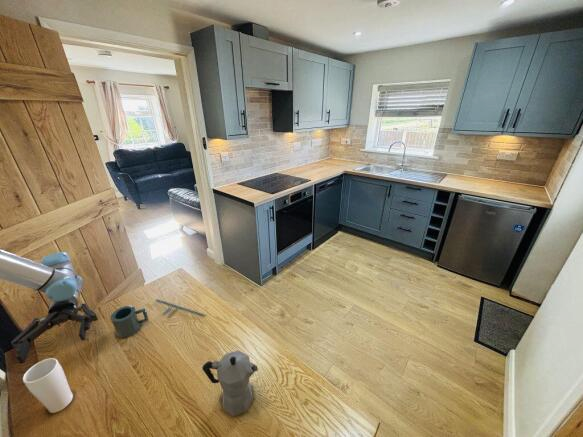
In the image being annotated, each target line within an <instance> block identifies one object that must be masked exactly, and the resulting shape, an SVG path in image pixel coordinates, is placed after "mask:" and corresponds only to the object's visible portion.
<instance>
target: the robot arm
mask: <svg viewBox="0 0 583 437" xmlns="http://www.w3.org/2000/svg"><path fill="white" fill-rule="evenodd" d="M74 268H75V267H74V266H73V263H72V261H71V258H70V256H69V254H68V252H67V253H66V252H65V251H64V252H63V251H57V252H53V253H50V254H47V255H45V256H44V257H43V258H41V260H40V263H39V262H37V261H35V260H34V261H33V260H31V259H28V258H25V257H23V256H20V255H18V254H14V253H11V252H8V251H6V250H2V249H0V281H3V282H5V283H9V284H13V285H17V286H21V287H24V288H27V289H31V290H34V291H37V292H41V293H43V294H45V296H46V297H47V299H48V300H50V301H51V302H50V305H49V308H48V311H47V315H46V316H44V317H43V318H39V317H35V318H33V320H32V321H31V323H30V324H29V325H27V327H26V328H25V329H24V330H22V331H21V332H20V333H19V334H18V335H17V336H16V337H15V338H14V339H13V340H12V341H11V342H10V344H11V346H13V348H14V349H15V352H16V353H17V355H16V359H17V360H18V363H19V364H20V365H22V364H24V363H25V362H26V360H27V357H28V354H29V352H30V348H31V343H33V342H34V341H35V340H36V339H38V338H39V337H41V335H43V334H44V333H45V332H47V331H48V330H51V329H52V328H54V327H55V326H57V325H61V324H63V323H67V322H68V321H71V322H77V323H80V326H79V330H78V336H79V339H80V340H81V342H83V341H85V340H86V334H87V331H89V330H90V329H91V324H92V323H93V322H97V321H98V319H99V318H98V315H97V314H96V312H95V311H93V310H92V309H91V308H89V307H88V305H87V303H86V302H83V303H82V304H81V306H79V302H80V298H81V293H82V292H81V291H82V289H83V278H82V277H81V276H79V274H77V273H76V270H75V269H74ZM78 312H81V313H84V314H80V313H78Z"/></svg>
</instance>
